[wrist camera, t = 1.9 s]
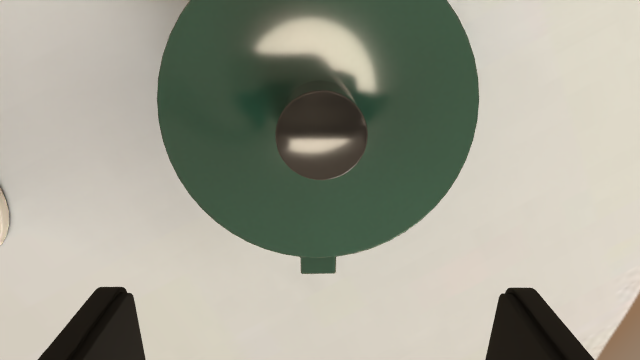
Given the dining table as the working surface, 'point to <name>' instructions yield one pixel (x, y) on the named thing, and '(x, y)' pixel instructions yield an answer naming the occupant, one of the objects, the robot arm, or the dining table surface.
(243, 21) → the lid
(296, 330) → the dining table surface
